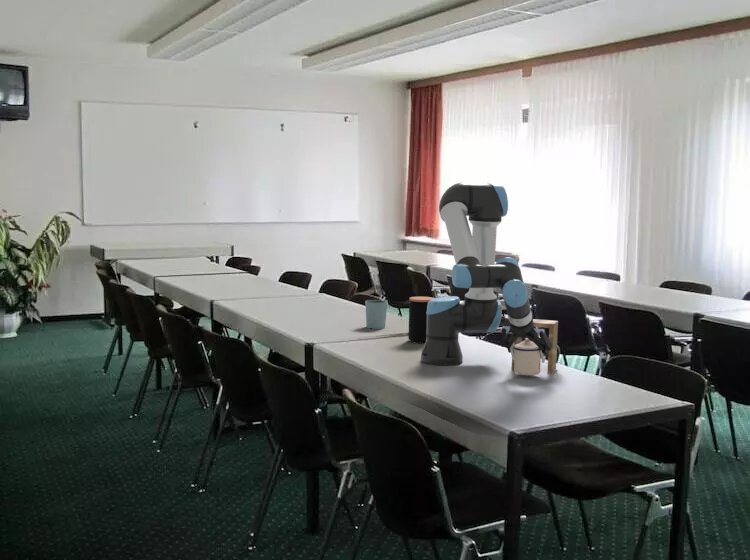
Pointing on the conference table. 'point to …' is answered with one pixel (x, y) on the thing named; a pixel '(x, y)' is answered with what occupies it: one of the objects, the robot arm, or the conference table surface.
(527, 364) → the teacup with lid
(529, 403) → the conference table surface
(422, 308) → the coffee jar
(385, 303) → the light blue cup
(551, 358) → the wooden arch
